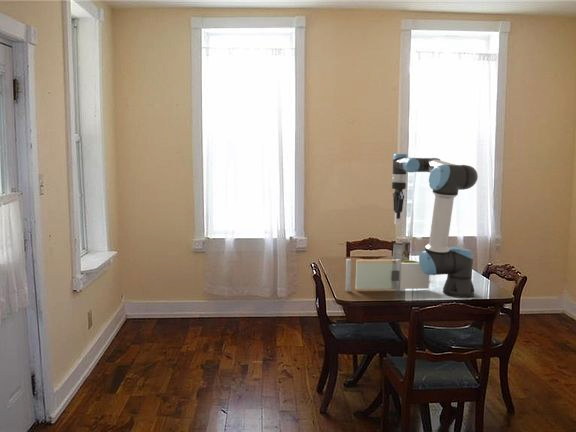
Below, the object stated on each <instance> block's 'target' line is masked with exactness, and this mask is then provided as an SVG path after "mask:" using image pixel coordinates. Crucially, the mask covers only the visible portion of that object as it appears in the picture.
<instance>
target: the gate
mask: <svg viewBox="0 0 576 432" xmlns="http://www.w3.org/2000/svg"><path fill="white" fill-rule="evenodd" d="M355 261H356V263H355V283H354V285H355V290H395V281H392V271H396V260H393V259H356V260H355Z"/></svg>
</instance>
